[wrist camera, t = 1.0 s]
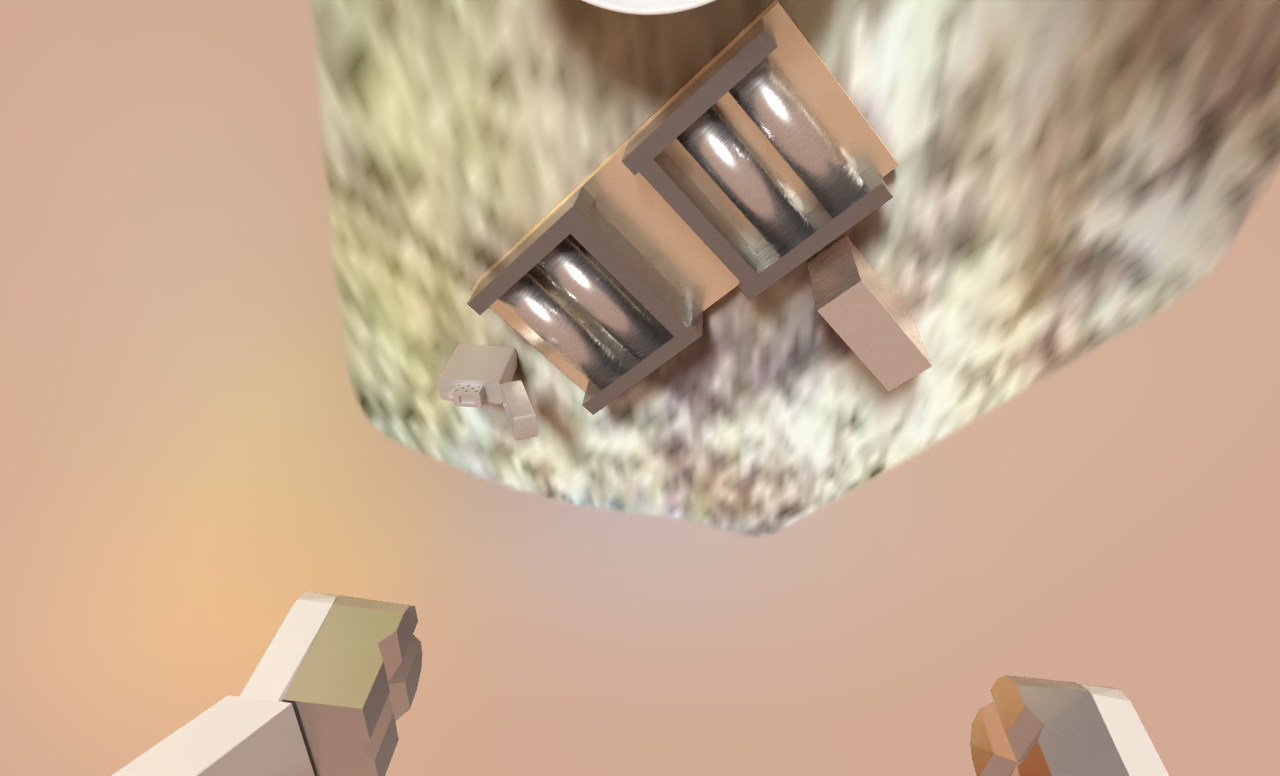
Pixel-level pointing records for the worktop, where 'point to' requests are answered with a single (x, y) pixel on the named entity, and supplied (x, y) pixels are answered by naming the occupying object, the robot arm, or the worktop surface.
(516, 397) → the lighter
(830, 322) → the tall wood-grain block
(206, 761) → the robot arm
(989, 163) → the worktop surface
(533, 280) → the metal roller rack
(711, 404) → the worktop surface
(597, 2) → the chinaware
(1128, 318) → the worktop surface
